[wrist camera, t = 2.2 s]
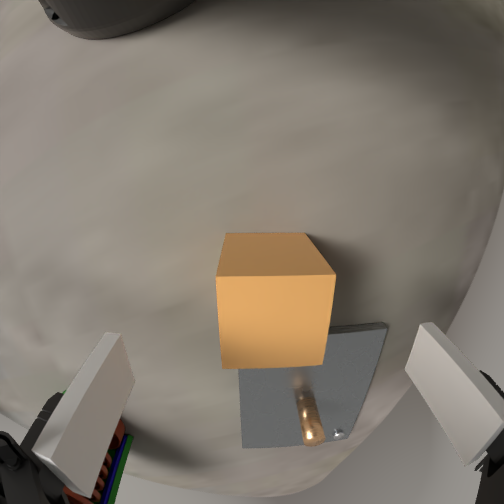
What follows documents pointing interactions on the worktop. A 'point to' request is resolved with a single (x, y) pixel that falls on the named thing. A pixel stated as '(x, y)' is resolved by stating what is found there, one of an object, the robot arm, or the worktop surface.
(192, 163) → the worktop surface
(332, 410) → the plate
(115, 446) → the motor
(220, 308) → the orange block
